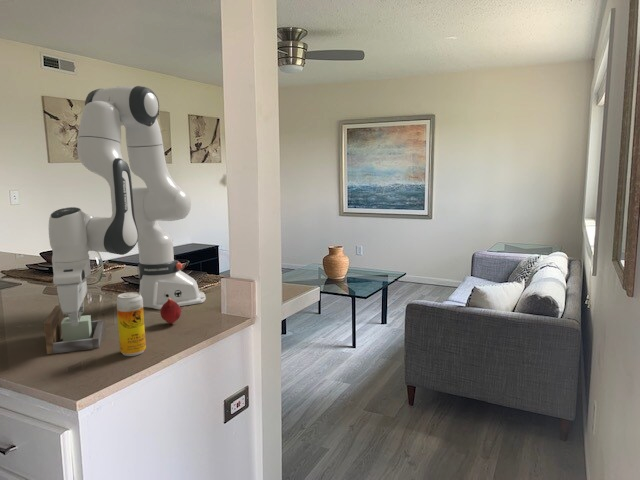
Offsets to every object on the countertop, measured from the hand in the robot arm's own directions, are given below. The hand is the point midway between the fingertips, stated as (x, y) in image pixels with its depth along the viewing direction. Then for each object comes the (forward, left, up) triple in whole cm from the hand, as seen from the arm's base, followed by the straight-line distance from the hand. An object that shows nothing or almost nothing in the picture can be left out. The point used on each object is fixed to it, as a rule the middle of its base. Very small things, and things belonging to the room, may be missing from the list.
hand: (77, 319), depth 131 cm
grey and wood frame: (0, +1, -6) cm, 6 cm away
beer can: (-14, +15, -6) cm, 21 cm away
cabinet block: (0, +1, -6) cm, 6 cm away
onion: (-24, -4, -6) cm, 25 cm away
